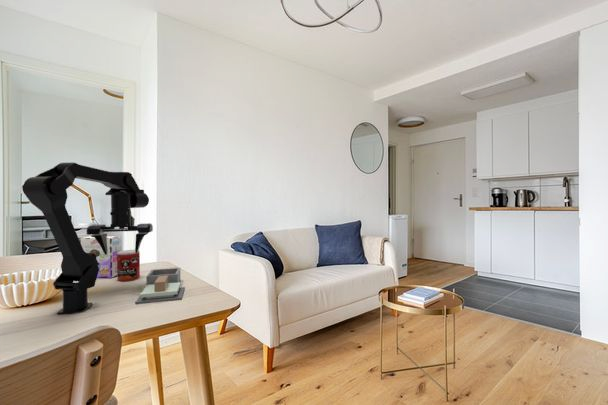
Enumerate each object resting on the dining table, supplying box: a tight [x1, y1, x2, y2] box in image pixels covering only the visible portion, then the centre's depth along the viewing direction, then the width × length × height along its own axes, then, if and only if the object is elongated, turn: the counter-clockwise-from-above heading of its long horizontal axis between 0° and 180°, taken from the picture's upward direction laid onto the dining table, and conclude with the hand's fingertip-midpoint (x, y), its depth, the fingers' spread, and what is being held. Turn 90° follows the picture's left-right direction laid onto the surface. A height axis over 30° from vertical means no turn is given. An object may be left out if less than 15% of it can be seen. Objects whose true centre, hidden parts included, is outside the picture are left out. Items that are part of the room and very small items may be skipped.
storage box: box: [145, 267, 181, 287], centre depth 109 cm, size 10×10×5 cm
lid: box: [139, 276, 181, 299], centre depth 97 cm, size 10×10×5 cm
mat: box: [134, 286, 186, 305], centre depth 97 cm, size 12×13×1 cm
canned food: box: [116, 249, 141, 282], centre depth 118 cm, size 8×8×11 cm
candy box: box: [79, 235, 122, 279], centre depth 122 cm, size 14×6×16 cm, turn 84°
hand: (121, 253), depth 102 cm, fingers open, 9 cm apart
